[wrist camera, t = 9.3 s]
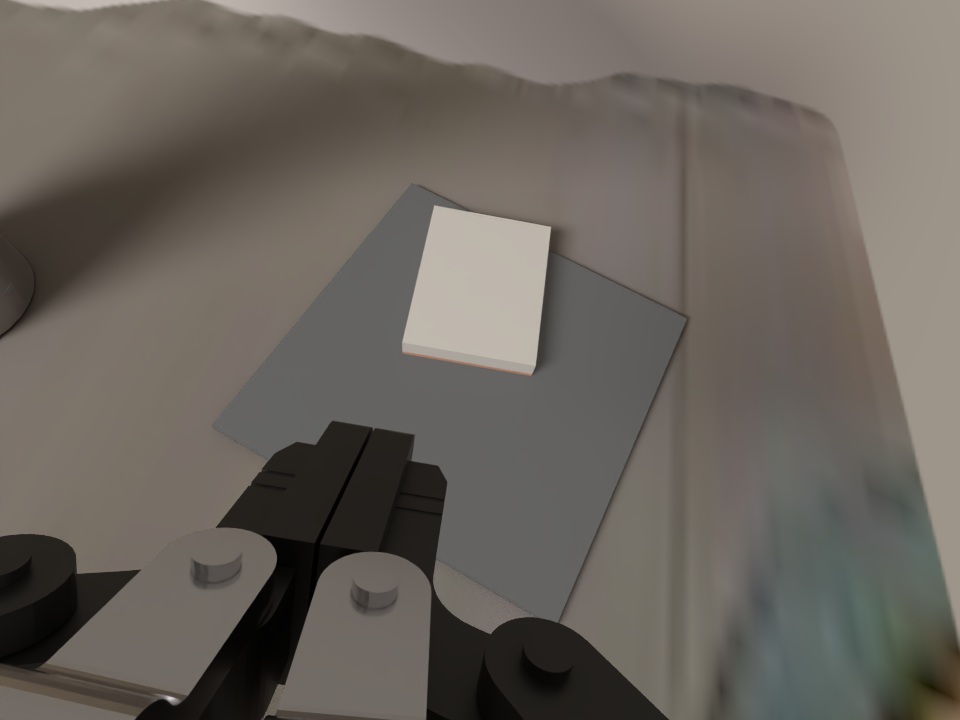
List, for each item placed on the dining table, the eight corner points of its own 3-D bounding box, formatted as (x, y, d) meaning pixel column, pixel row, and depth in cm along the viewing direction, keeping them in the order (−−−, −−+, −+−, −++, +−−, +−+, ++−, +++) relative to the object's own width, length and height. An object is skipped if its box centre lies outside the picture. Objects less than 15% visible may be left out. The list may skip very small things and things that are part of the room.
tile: (535, 366, 39) (551, 226, 45) (402, 342, 39) (434, 205, 44) (531, 376, 40) (546, 240, 46) (402, 353, 40) (433, 219, 46)
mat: (214, 428, 37) (211, 425, 37) (412, 187, 48) (412, 183, 47) (553, 627, 34) (555, 626, 33) (684, 321, 44) (687, 318, 44)
